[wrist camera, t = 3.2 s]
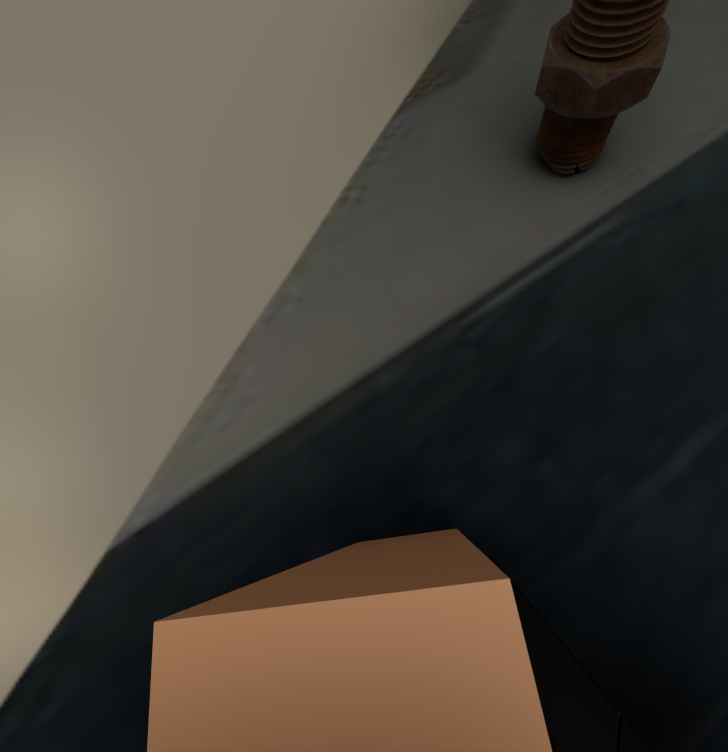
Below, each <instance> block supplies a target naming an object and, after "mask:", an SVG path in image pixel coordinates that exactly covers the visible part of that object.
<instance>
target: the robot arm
mask: <svg viewBox="0 0 728 752" xmlns="http://www.w3.org/2000/svg"><path fill="white" fill-rule="evenodd" d="M486 557H487V558H488V559H490V560H491V561H492V562H493V563H494V564H495V565H496V566H497V567H498V568H499V569H500V570H501V571H502V572H503V573H504V574H506V572H505V571H504V570H503V569H502V568H501V566H500V565H499V564H498V563H497V561H496V560H495V559H494V558H493V557H492V556H490V555H487V556H486ZM506 575H507V574H506ZM507 576H508V575H507ZM508 577H509V576H508ZM509 578H510V577H509ZM510 582H511V586H512V590H513V594H514V598H515V602H516V606H517V610H518V614H519V618H520V622H521V626H522V631H523V635H524V639H525V643H526V647H527V651H528V655H529V659H530V663H531V667H532V671H533V675H534V679H535V683H536V688H537V692H538V696H539V700H540V704H541V708H542V712H543V716H544V720H545V724H546V728H547V732H548V736H549V740H550V745H551V749H552V752H653V751H652V749H651V748H650V747H649V746H648V745H647V744H646V742H645V741H644V740H643V739H642V738H641V736H640V735H639V734H638V733H637V732H636V730H635V729H634V728H633V727H632V725H631V724H630V723H629V722H628V721H627V719H626V718H625V717H621V718H620V716H621V713H620V711H619V710H618V709H617V708H616V706H615V705H614V704H613V703H612V701H611V700H610V699H609V698H608V697H607V695H606V694H605V693H604V692H603V690H602V689H601V688H600V687H599V686H598V684H597V683H596V682H595V681H594V680H593V678H592V677H591V676H590V675H589V673H588V672H587V671H586V670H585V669H584V667H583V666H582V665H581V664H580V662H579V661H578V660H577V659H576V658H575V656H574V655H573V654H572V653H571V652H570V650H569V649H568V648H567V647H566V645H565V644H564V643H563V642H562V641H561V639H560V638H559V637H558V636H557V634H556V633H555V632H554V631H553V630H552V628H551V627H550V626H549V625H548V624H547V622H546V621H545V620H544V619H543V617H542V616H541V615H540V614H539V613H538V611H537V610H536V609H535V608H534V606H533V605H532V604H531V603H530V602H529V600H528V599H527V598H526V597H525V596H524V594H523V593H522V592H521V591H520V589H519V588H518V587H517V586H516V585H515V583H514V582H513V581H512V580H511V578H510Z"/></svg>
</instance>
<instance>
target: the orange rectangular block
mask: <svg viewBox="0 0 728 752" xmlns="http://www.w3.org/2000/svg"><path fill="white" fill-rule="evenodd" d="M147 752H552V749H551V745H550V740H549V736H548V732H547V728H546V724H545V720H544V716H543V712H542V708H541V704H540V700H539V696H538V692H537V688H536V683H535V679H534V675H533V671H532V667H531V663H530V659H529V655H528V651H527V647H526V643H525V639H524V635H523V631H522V626H521V622H520V618H519V614H518V610H517V606H516V602H515V598H514V594H513V590H512V586H511V582H510V578H509V577H508V576H507V575H506V574H504V573H503V572H502V571H501V570H500V569H499V568H498V567H497V566H496V565H495V564H494V563H493V562H492V561H491V560H490V559H488V558H487V557H486V556H485V555H484V554H483V553H482V552H481V551H480V550H479V549H478V548H477V547H476V546H475V545H474V544H472V543H471V542H470V541H469V540H468V539H467V538H466V537H465V536H464V535H463V534H462V533H461V532H460V531H459V530H457V529H449V530H442V531H435V532H428V533H421V534H414V535H407V536H400V537H393V538H386V539H379V540H371V541H364V542H358V543H355V544H353V545H350V546H348V547H345V548H343V549H340V550H337V551H335V552H332V553H330V554H327V555H325V556H322V557H319V558H317V559H314V560H312V561H309V562H307V563H304V564H302V565H299V566H296V567H294V568H291V569H289V570H286V571H284V572H281V573H279V574H276V575H273V576H271V577H268V578H266V579H263V580H261V581H258V582H255V583H253V584H250V585H248V586H245V587H243V588H240V589H238V590H235V591H232V592H230V593H227V594H225V595H222V596H220V597H217V598H214V599H212V600H209V601H207V602H204V603H202V604H199V605H197V606H194V607H191V608H189V609H186V610H184V611H181V612H179V613H176V614H174V615H171V616H168V617H166V618H163V619H161V620H158V621H156V622H154V634H153V652H152V671H151V689H150V708H149V727H148V745H147Z"/></svg>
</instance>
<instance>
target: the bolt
mask: <svg viewBox="0 0 728 752" xmlns="http://www.w3.org/2000/svg"><path fill="white" fill-rule="evenodd" d="M669 1H670V0H573V6H572V8H571V10H570V13H569V14H567V15H566V16H565V17H563V18H562V19H561V20H559V21H558V22H557V23H556V24H554V25H553V26H552V27H551V30H550V34H549V38H548V42H547V46H546V50H545V54H544V58H543V63H542V67H541V71H540V75H539V80H538V84H537V88H536V92H535V95H536V96H537V97H538V98H539V99H540V100H541V101H542V102H543V103H544V104H545V110H544V113H543V118H542V120H541V125H540V129H539V131H538V136H537V139H536V142H535V143H536V145H537V149H538V151H539V153H540V154H541V155H542V157H543V158H544V159H545V160H546V161H547V163H548V164H549V165H550V166H551V167H552V168H553V170H554V171H555V172H556V173H560V174H568V173H575V171H574V168H577V167H578V168H579V170H584V169H587V168H588V167H590V166H591V165H592V164H594V163H595V161H596V160H597V159H598V157H599V155H600V153H601V151H602V149H603V146H604V144H605V141H606V139H607V137H608V134H609V133H610V130H611V128H612V126H613V123H614V121H615V119H616V117H617V115H618V113H620V112H622V111H624V110H626V109H628V108H630V107H632V106H634V105H635V104H637V103H639V102H640V101H642V100H644V99H645V98H647V96H648V94H649V92H650V90H651V88H652V86H653V84H654V82H655V80H656V78H657V77H658V75H659V73H660V71H661V69H662V65H663V61H664V58H665V54H666V50H667V45H668V41H669V27H668V25H667V23H666V21H665V20H664V18H663V17H662V15H663V14H664V12H665V10H666V8H667V4H668V2H669Z"/></svg>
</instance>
